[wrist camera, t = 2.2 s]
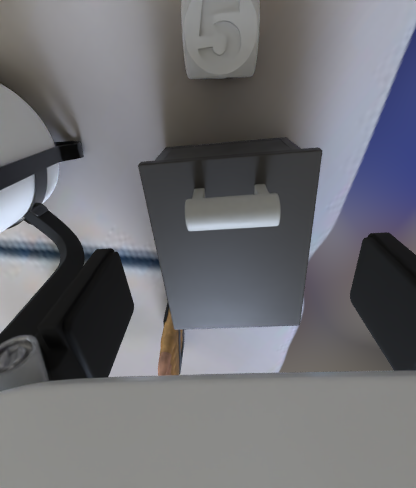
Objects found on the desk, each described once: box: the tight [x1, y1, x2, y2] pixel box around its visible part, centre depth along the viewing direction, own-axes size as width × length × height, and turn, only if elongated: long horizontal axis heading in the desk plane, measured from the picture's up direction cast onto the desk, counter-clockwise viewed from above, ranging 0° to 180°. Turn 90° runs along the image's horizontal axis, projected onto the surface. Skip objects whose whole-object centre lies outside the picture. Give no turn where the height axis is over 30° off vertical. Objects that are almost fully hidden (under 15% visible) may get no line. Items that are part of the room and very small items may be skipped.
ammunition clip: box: [158, 303, 184, 376], centre depth 33 cm, size 11×2×12 cm, turn 177°
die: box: [181, 0, 260, 79], centre depth 19 cm, size 5×5×5 cm
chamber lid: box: [138, 148, 322, 330], centre depth 19 cm, size 15×12×5 cm
